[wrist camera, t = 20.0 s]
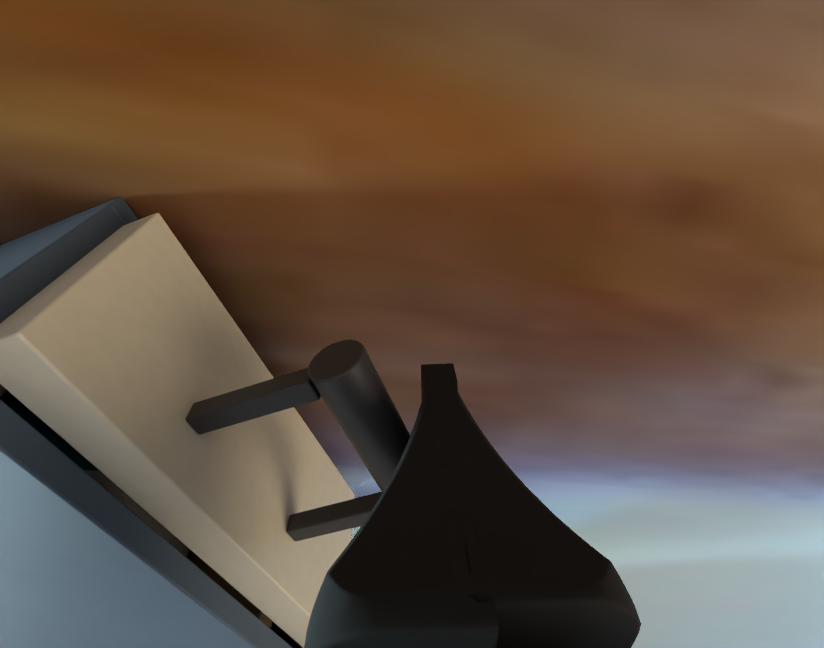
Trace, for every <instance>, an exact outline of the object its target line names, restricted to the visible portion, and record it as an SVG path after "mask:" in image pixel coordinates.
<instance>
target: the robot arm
mask: <svg viewBox="0 0 824 648" xmlns="http://www.w3.org/2000/svg"><path fill="white" fill-rule="evenodd" d="M421 388H422V403H421V406H420V409H419V413H418V416H417V419H416V422H415V425H414V428H413V430H412V433H411V435H410V438H409V440H408V443H407V445H406V448H405V450H404V452H403V455H402V457H401V459H400V461H399V463H398V465H397V467H396V469H395V471H394V473H393V475H392V477H391V479H390V480H389V482H388V484H387V486H386V488H385V489H384V491H383V493H382V495H381V496H380V498H379V500H378V502H377V503H376V505H375V506H374V508H373V509H372V511H371V512H370V514H369V515H368V517H367V518H366V520H365V521H364V523H363V524H362V526H361V527H360V529H359V530H358V532H357V533H356V535H355V536H354V537H353V539H352V540H351V542H350V543H349V544H348V545H347V547H346V548H345V549H344V551H343V552H342V553H341V554H340V556H339V557H338V558H337V560H336V561H335V562H334V563H333V565H332V566H331V567H330V569H329V570H328V571H327V573H326V576H325V578H324V580H323V583H322V585H321V588H320V590H319V593H318V595H317V598H316V601H315V603H314V606H313V609H312V613H311V616H310V620H309V624H308V628H307V632H306V639H305V646H304V648H631V647H632V645H633V643H634V641H635V639H636V637H637V635H638V633H639V630H640V626H641V623H640V620H639V617H638V614H637V611H636V608H635V605H634V603H633V601H632V599H631V597H630V595H629V593H628V591H627V589H626V587H625V585H624V584H623V582H622V580H621V578H620V576H619V575H618V573H617V571H616V569H615V568H614V566H613V564H612V563H611V561H609V560H608V559H607V558H605V557H604V556H603V555H602V554H600V553H599V552H598V551H597V550H595V549H594V548H593V547H591V546H590V545H589V544H588V543H587V542H585V541H584V540H583V539H582V538H581V537H579V536H578V535H577V534H576V533H574V532H573V531H572V530H571V529H570V528H569V527H568V526H567V525H565V524H564V523H563V522H562V521H561V520H560V519H559V518H558V517H556V516H555V515H554V514H553V513H552V512H551V511H550V510H549V509H548V508H547V507H546V506H545V505H544V504H543V503H542V502H541V501H540V500H539V499H538V498H537V497H536V496H535V495H534V494H533V493H532V492H531V491H530V490H529V489H528V488H527V487H526V486H525V485H524V484H523V483H522V481H521V480H520V479H519V478H518V477H517V476H516V475H515V474H514V473H513V471H512V470H511V469H510V468H509V467H508V465H507V464H506V463H505V462H504V461H503V459H502V458H501V457H500V456H499V454H498V453H497V452H496V451H495V449H494V448H493V447H492V445H491V444H490V442H489V441H488V440H487V438H486V437H485V435H484V434H483V433H482V431H481V430H480V428H479V427H478V425H477V424H476V422H475V421H474V419H473V417H472V416H471V414H470V412H469V411H468V409H467V407H466V406H465V404H464V402H463V400H462V399H461V397H460V395H459V393H458V387H457V378H456V373H455V369H454V366H453V364H428V365H421Z"/></svg>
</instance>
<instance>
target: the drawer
mask: <svg viewBox="0 0 824 648" xmlns="http://www.w3.org/2000/svg"><path fill="white" fill-rule="evenodd" d="M7 390H8V391H9V392H10V393H11V394H12V395H13V396H14V397H16V398H17V399H18V400H19V401H20V402H21V403H23V404H24V405H25V406H26V407H27V408H28V409H29V410H31V411H32V412H33V413H34V414H35V415H36V416H37V417H39V418H40V419H41V420H42V421H43V422H44V423H45V424H47V425H48V426H49V427H50V428H51V429H52V430H54V431H55V432H56V433H57V434H58V435H59V436H60V437H62V438H63V439H64V440H65V441H66V442H67V443H68V444H70V445H71V446H72V447H73V448H74V449H75V450H76V451H78V452H79V453H80V454H81V455H82V456H83V457H85V458H86V459H87V460H88V461H89V462H90V463H91V464H93V465H94V466H95V467H96V468H97V469H98V470H99V471H101V472H102V473H103V474H104V475H105V476H106V477H107V478H109V479H110V480H111V481H112V482H113V483H114V484H116V485H117V486H118V487H119V488H120V489H121V490H122V491H124V492H125V493H126V494H127V495H128V496H129V497H130V498H132V499H133V500H134V501H135V502H136V503H137V504H138V505H140V506H141V507H142V508H143V509H144V510H145V511H147V512H148V513H149V514H150V515H151V516H152V517H153V518H155V519H156V520H157V521H158V522H159V523H160V524H161V525H163V526H164V527H165V528H166V529H167V530H168V531H169V532H171V533H172V534H173V535H174V536H175V537H176V538H178V539H179V540H180V541H181V542H182V543H183V544H184V545H186V546H187V547H188V548H189V549H190V550H189V552H188V555H187V558H188V559H189V560H190V561H191V562H192V563H194V564H195V565H196V566H197V567H198V568H199V569H201V570H202V571H203V572H204V573H205V574H206V575H208V576H209V577H210V578H211V579H212V580H214V581H215V582H216V583H217V584H218V585H219V586H221V587H222V588H223V589H224V590H225V591H226V592H228V593H229V594H230V595H231V596H232V597H234V598H235V599H236V600H237V601H238V602H239V603H241V604H242V605H243V606H244V607H245V608H246V609H248V610H249V611H250V612H251V613H252V614H254V615H255V616H256V617H257V618H258V619H259V620H261V621H262V622H263V623H264V624H265V625H267V626H268V627H269V628H270V629H271V626H272V621H273V622H274V623H275V624H276V625H277V626H279V627H280V628H281V629H282V630H283V631H284V632H285V633H287V634H288V635H289V636H290V637H291V638H292V639H294V640H295V641H296V642H297V643H298V644H299V645H300V646H302V647H303V648H304V646H305V639H306V632H307V628H308V624H309V620H310V616H311V613H312V609H313V606H314V603H315V601H316V598H317V595H318V593H319V590H320V588H321V585H322V583H323V580H324V578H325V576H326V573H327V571H328V570H329V569H330V567H331V566H332V565H333V563H334V562H335V561H336V560H337V558H338V557H339V556H340V554H341V553H342V552H343V551H344V549H345V548H346V547H347V545H348V544H349V543H350V542H351V533H352V528H355V527H359V526H362V524H363V523H364V521H365V520H366V518H367V517H368V515H369V514H370V512H371V511H372V509H373V508H374V506H375V505H376V503H377V502H378V500H379V498H380V496H381V495H382V493H383V491H384V489H385V488H386V486H387V484H388V482H389V480H390V479H391V477H392V475H393V473H394V471H395V469H396V467H397V465H398V463H399V461H400V459H401V457H402V455H403V452H404V450H405V448H406V445H407V443H408V440H409V438H410V434H409V432H408V430H407V428H406V426H405V424H404V423H403V421H402V419H401V417H400V415H399V413H398V411H397V409H396V407H395V405H394V403H393V402H392V400H391V398H390V396H389V394H388V392H387V390H386V388H385V386H384V384H383V383H382V381H381V379H380V377H379V375H378V373H377V371H376V369H375V367H374V365H373V363H372V362H371V360H370V358H369V356H368V354H367V352H366V350H365V348H364V346H363V345H362V344H361V343H360V342H358V341H355V340H343V341H339V342H336V343H334V344H331V345H329V346H328V347H326V348H324V349H323V350H321V351H320V352H319V353H318V354H317V355H316V356H315V357H314V358H313V359H312V361H311V362H310V364H309V367H308V368H306V369H303V370H299V371H296V372H293V373H290V374H286V375H283V376H280V377H277V378H273V376H272V375H271V373H270V372H269V370H268V369H267V368H266V366H265V365H264V363H263V362H262V360H261V359H260V358H259V356H258V355H257V353H256V352H255V350H254V349H253V347H252V346H251V345H250V343H249V342H248V340H247V339H246V337H245V336H244V335H243V333H242V332H241V330H240V329H239V327H238V326H237V324H236V323H235V322H234V320H233V319H232V317H231V316H230V314H229V313H228V312H227V310H226V309H225V307H224V306H223V304H222V303H221V302H220V300H219V299H218V297H217V296H216V294H215V293H214V291H213V290H212V289H211V287H210V286H209V284H208V283H207V281H206V280H205V279H204V277H203V276H202V274H201V273H200V271H199V270H198V268H197V267H196V266H195V264H194V263H193V261H192V260H191V258H190V257H189V256H188V254H187V253H186V251H185V250H184V248H183V247H182V245H181V244H180V243H179V241H178V240H177V238H176V237H175V235H174V234H173V233H172V231H171V230H170V228H169V227H168V225H167V224H166V223H165V221H164V220H163V218H162V217H161V215H160V214H159V213H154V214H152V215H149V216H147V217H144V218H142V219H139V220H137V221H134V222H132V223H129V224H126V225H124V226H122V227H121V228H120V229H118V230H117V231H116V232H114V233H113V234H112V235H111V236H109V237H108V238H107V239H106V240H104V241H103V242H102V243H101V244H99V245H98V246H97V247H96V248H94V249H93V250H92V251H91V252H89V253H88V254H87V255H86V256H84V257H83V258H82V259H81V260H79V261H78V262H77V263H76V264H74V265H73V266H72V267H71V268H69V269H68V270H67V271H66V272H64V273H63V274H62V275H61V276H59V277H58V278H57V279H55V280H54V281H53V282H52V283H50V284H49V285H48V286H47V287H45V288H44V289H43V290H42V291H40V292H39V293H38V294H37V295H35V296H34V297H33V298H32V299H30V300H29V301H28V302H27V303H25V304H24V305H23V306H22V307H20V308H19V309H18V310H17V311H15V312H14V313H13V314H12V315H10V316H9V317H8V318H7V319H5V320H4V321H3V322H2V323H0V397H1V396H2V395H3V394H4V393H5V392H6V391H7ZM320 396H321V397H322V398H323V400H324V401H325V403H326V404H327V406H328V408H329V409H330V411H331V412H332V414H333V415H334V417H335V419H336V420H337V422H338V423H339V425H340V426H341V428H342V430H343V431H344V433H345V434H346V436H347V437H348V439H349V440H350V442H351V444H352V445H353V447H354V448H355V450H356V451H357V453H358V455H359V456H360V458H361V459H362V461H363V462H364V464H365V466H366V467H367V469H368V470H369V472H370V473H371V475H372V476H373V478H374V480H375V481H376V483H377V484H378V486H379V487H380V489H381V491H382V492H379V493H375V494H371V495H367V496H363V497H359V498H355V494H354V493H353V491H352V490H351V488H350V487H349V485H348V484H347V482H346V481H345V480H344V478H343V477H342V475H341V474H340V472H339V471H338V470H337V468H336V467H335V465H334V464H333V462H332V461H331V459H330V458H329V457H328V455H327V454H326V452H325V451H324V449H323V448H322V447H321V445H320V444H319V442H318V441H317V439H316V438H315V436H314V435H313V434H312V432H311V431H310V429H309V428H308V426H307V425H306V424H305V422H304V421H303V419H302V418H301V416H300V415H299V414H298V412H297V411H296V409H295V408H294V407H296V406H299V405H303V404H306V403H310V402H313V401H316V400H319V399H320ZM354 498H355V499H354Z"/></svg>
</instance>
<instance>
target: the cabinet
mask: <svg viewBox="0 0 824 648" xmlns="http://www.w3.org/2000/svg"><path fill="white" fill-rule="evenodd" d="M137 220H138V219H137V217H136V216H135V214H134V213H133V212H132V210H131V209H130V208H129V206H128V205H127V203H126V202H125V201H124V199H123V198H122V197H118V198H116V199H113V200H111V201H108V202H106V203H103V204H101V205H98V206H96V207H93V208H91V209H88V210H86V211H84V212H81V213H79V214H76V215H74V216H71V217H69V218H66V219H64V220H61V221H59V222H56V223H54V224H52V225H49V226H47V227H44V228H42V229H39V230H37V231H34V232H32V233H29V234H27V235H24V236H22V237H20V238H17V239H15V240H12V241H10V242H7V243H5V244H2V245H0V323H2V322H3V321H4V320H5V319H7V318H8V317H9V316H10V315H12V314H13V313H14V312H15V311H17V310H18V309H19V308H20V307H22V306H23V305H24V304H25V303H27V302H28V301H29V300H30V299H32V298H33V297H34V296H35V295H37V294H38V293H39V292H40V291H42V290H43V289H44V288H45V287H47V286H48V285H49V284H50V283H52V282H53V281H54V280H55V279H57V278H58V277H59V276H61V275H62V274H63V273H64V272H66V271H67V270H68V269H69V268H71V267H72V266H73V265H74V264H76V263H77V262H78V261H79V260H81V259H82V258H83V257H84V256H86V255H87V254H88V253H89V252H91V251H92V250H93V249H94V248H96V247H97V246H98V245H99V244H101V243H102V242H103V241H104V240H106V239H107V238H108V237H109V236H111V235H112V234H113V233H114V232H116V231H117V230H118V229H120V228H121V227H122V226H124V225H126V224H129V223H132V222H134V221H137ZM0 648H303V647H302V646H300V645H299V644H298V643H297V642H296V641H295V640H294V639H292V638H291V637H290V636H289V635H288V634H287V633H285V632H284V631H283V630H282V629H281V628H280V627H279V626H277V625H276V624H275V623H274V622H273V621H272V626H271V629H270V628H269V627H268V626H267V625H265V624H264V623H263V622H262V621H261V620H259V619H258V618H257V617H256V616H255V615H254V614H252V613H251V612H250V611H249V610H248V609H246V608H245V607H244V606H243V605H242V604H241V603H239V602H238V601H237V600H236V599H235V598H234V597H232V596H231V595H230V594H229V593H228V592H226V591H225V590H224V589H223V588H222V587H221V586H219V585H218V584H217V583H216V582H215V581H214V580H212V579H211V578H210V577H209V576H208V575H206V574H205V573H204V572H203V571H202V570H201V569H199V568H198V567H197V566H196V565H195V564H194V563H192V562H191V561H190V560H189V559H188V558H186V557H185V556H184V555H183V554H182V553H181V552H179V551H178V550H177V549H176V548H175V547H173V546H172V545H171V544H170V543H169V542H168V541H166V540H165V539H164V538H163V537H162V536H161V535H159V534H158V533H157V532H156V531H155V530H153V529H152V528H151V527H150V526H149V525H148V524H146V523H145V522H144V521H143V520H142V519H141V518H139V517H138V516H137V515H136V514H135V513H133V512H132V511H131V510H130V509H129V508H128V507H126V506H125V505H124V504H123V503H122V502H120V501H119V500H118V499H117V498H116V497H115V496H113V495H112V494H111V493H110V492H109V491H108V490H106V489H105V488H104V487H103V486H102V485H100V484H99V483H98V482H97V481H96V480H95V479H93V478H92V477H91V476H90V475H89V474H88V473H86V472H85V471H84V470H83V469H82V468H80V467H79V466H78V465H77V464H76V463H75V462H73V461H72V460H71V459H70V458H69V457H68V456H66V455H65V454H64V453H63V452H62V451H60V450H59V449H58V448H57V447H56V446H55V445H53V444H52V443H51V442H50V441H49V440H47V439H46V438H45V437H44V436H43V435H42V434H40V433H39V432H38V431H37V430H36V429H35V428H33V427H32V426H31V425H30V424H29V423H27V422H26V421H25V420H24V419H23V418H22V417H20V416H19V415H18V414H17V413H16V412H15V411H13V410H12V409H11V408H10V407H9V406H7V405H6V404H5V403H4V402H3V401H2V400H0Z"/></svg>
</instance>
